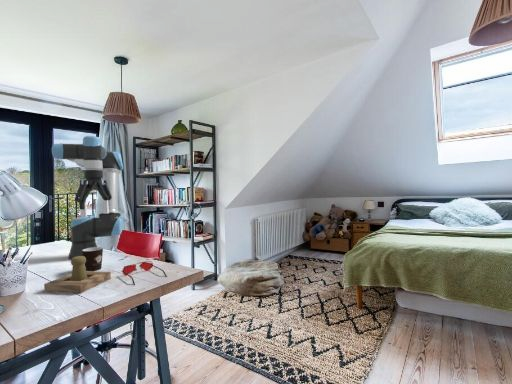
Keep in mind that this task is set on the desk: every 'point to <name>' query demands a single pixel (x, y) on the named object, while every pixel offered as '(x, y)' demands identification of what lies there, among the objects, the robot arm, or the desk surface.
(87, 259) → the coffee mug
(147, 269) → the glasses
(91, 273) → the socket block
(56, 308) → the desk surface
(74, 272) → the cork
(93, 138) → the robot arm
